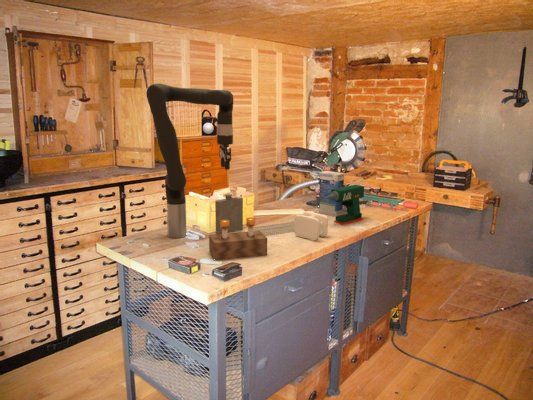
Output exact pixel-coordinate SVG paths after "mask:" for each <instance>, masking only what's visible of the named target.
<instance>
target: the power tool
mask: <svg viewBox="0 0 533 400" xmlns="http://www.w3.org/2000/svg"><path fill="white" fill-rule="evenodd" d="M364 197H365V186H364V185H360V184H352V185H347V186H344V187H340V188H335V189H331V193H330V194H329V196H327V197H325V198H326V199H330V200H331V201H335V202H339V203H340V202H342V205H343V207H344V206H345V208H346V213H342V215H338V216H336V217H335V219H334V220H333V223H334V224H338V225H341V226H345V225H348V224H352V223H355V222H359V221H363V220H364V218H363V216H362V215H363V213H362V212H361V206H360V199H362V198H364Z"/></svg>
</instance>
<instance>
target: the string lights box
mask: <svg viewBox="0 0 533 400" xmlns="http://www.w3.org/2000/svg"><path fill="white" fill-rule="evenodd" d="M344 184H345V172H337V171H330V170H325V171H320V172H319V187H318V188H319V190H318V191H319V193H318V194H319V195H318V214H322V215H326V216H332V217H335V218H336V216H338V215H342V214H343V207H344V206H343V205H342V202H340V203H339V202H335V201H331V200H330V199H326V198H325V197H327V196H329V194H330V193H331V189H335V188H340V187H345V186H344Z"/></svg>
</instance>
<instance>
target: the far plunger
mask: <svg viewBox="0 0 533 400" xmlns="http://www.w3.org/2000/svg"><path fill="white" fill-rule="evenodd" d="M245 220H246V225H245V226H246V227H247V232H248V237H251V236H253V227H256V218H255V217H246V219H245Z"/></svg>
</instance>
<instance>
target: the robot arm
mask: <svg viewBox="0 0 533 400" xmlns="http://www.w3.org/2000/svg"><path fill="white" fill-rule="evenodd" d="M145 95H146V99H147V102H148V104H149V105H148V106H149V108H150V111H151V115H152V119H153V125H154V128H155V134H156V139H157V144H158V147H159V150H160V153H161V157H162V158H163V161H164V164H165V167H166V169H165V170H166V174H165V178H164V186H165V188H164V189H165V199H166V207H167V208H166V212H167V213H166V215H167V217H166V221H167V222H166V223H167V225H166V226H167V228H166V229H167V236H168V238H169V239H171V238H172V239H181V238H184V237H186V236H187V235H186V233H188V231H187V207H186V206H187V205H186V204H187V203H186V202H187V201H186V196H185V187H186V184H187V178H186V176H185V175H186V174H185V172H184V169H183V165H182V161H181V156H180V155H181V154H180V146H179V140H178V136H177V133H176V127H175V126H174V124H173V121H171V119H170V117H169V114H168V111H167V110H168V109H167V104H166V103H170V102H184V103H188V104H195V105H211V106H218V112H217V115H216V118H217V119H216V120H217V122H216V123H217V126H216V144H217V145H219V146H218V147H219V151H218V152H219V159H220V167H221V168H224V170H227V171H229V170H230V169H231V166H230V165H231V164H230V162H231V161H232V148H231V147H230V146H231V145H233V144H234V128H233V110H234V95H233V93H232V92H231V91H230V90H226V89H225V90H224V89H207V88H196V87H195V88H189V87H188V88H187V87H186V88H185V87H176V86H172V85H166V84H163V83H153V84H150V85H149V86H148V87H147V88H146V94H145Z"/></svg>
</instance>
